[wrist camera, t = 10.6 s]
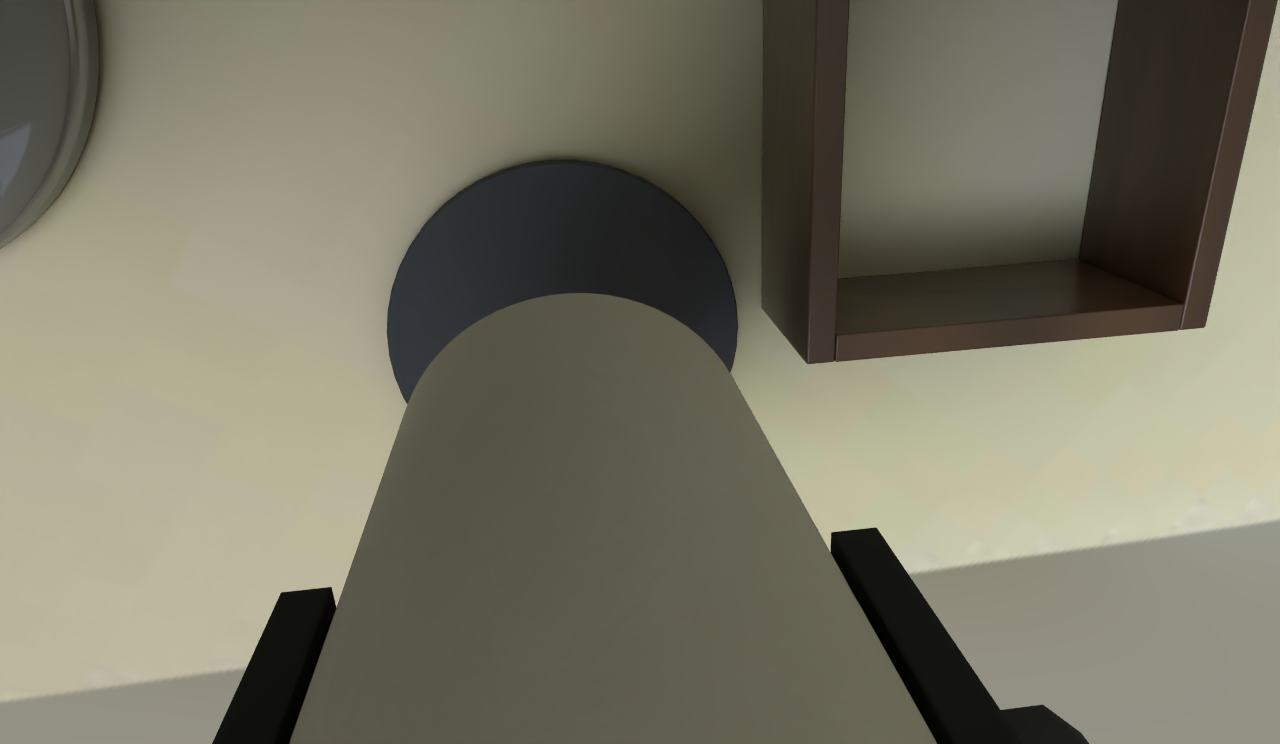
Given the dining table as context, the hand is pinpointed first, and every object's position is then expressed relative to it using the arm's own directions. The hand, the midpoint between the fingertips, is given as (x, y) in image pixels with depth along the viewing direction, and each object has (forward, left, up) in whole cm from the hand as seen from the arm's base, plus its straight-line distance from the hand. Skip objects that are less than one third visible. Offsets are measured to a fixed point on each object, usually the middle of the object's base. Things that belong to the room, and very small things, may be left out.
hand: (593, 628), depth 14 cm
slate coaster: (0, 0, -14) cm, 14 cm away
